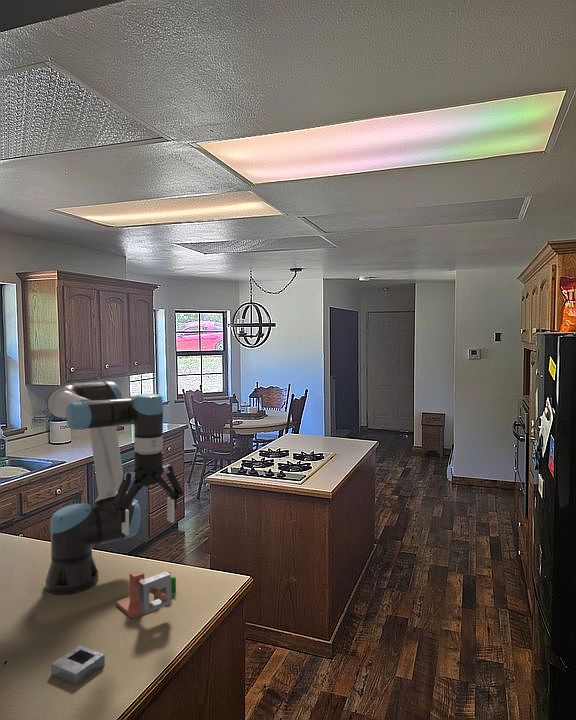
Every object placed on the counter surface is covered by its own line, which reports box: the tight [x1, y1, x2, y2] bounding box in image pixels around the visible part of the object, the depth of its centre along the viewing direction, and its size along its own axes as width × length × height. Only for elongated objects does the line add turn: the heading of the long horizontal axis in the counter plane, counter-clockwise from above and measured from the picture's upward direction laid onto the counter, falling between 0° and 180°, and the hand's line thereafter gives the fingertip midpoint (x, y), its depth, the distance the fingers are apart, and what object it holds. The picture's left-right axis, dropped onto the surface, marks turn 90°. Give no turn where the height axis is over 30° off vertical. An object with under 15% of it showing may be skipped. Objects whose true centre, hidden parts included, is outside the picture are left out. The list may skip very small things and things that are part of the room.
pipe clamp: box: [153, 571, 177, 601], centre depth 153 cm, size 11×4×5 cm, turn 174°
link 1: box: [50, 644, 106, 686], centre depth 118 cm, size 8×8×2 cm
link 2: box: [139, 571, 173, 615], centre depth 138 cm, size 2×8×8 cm, turn 133°
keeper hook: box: [115, 569, 167, 619], centre depth 142 cm, size 20×8×10 cm, turn 43°
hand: (148, 527), depth 143 cm, fingers open, 13 cm apart
